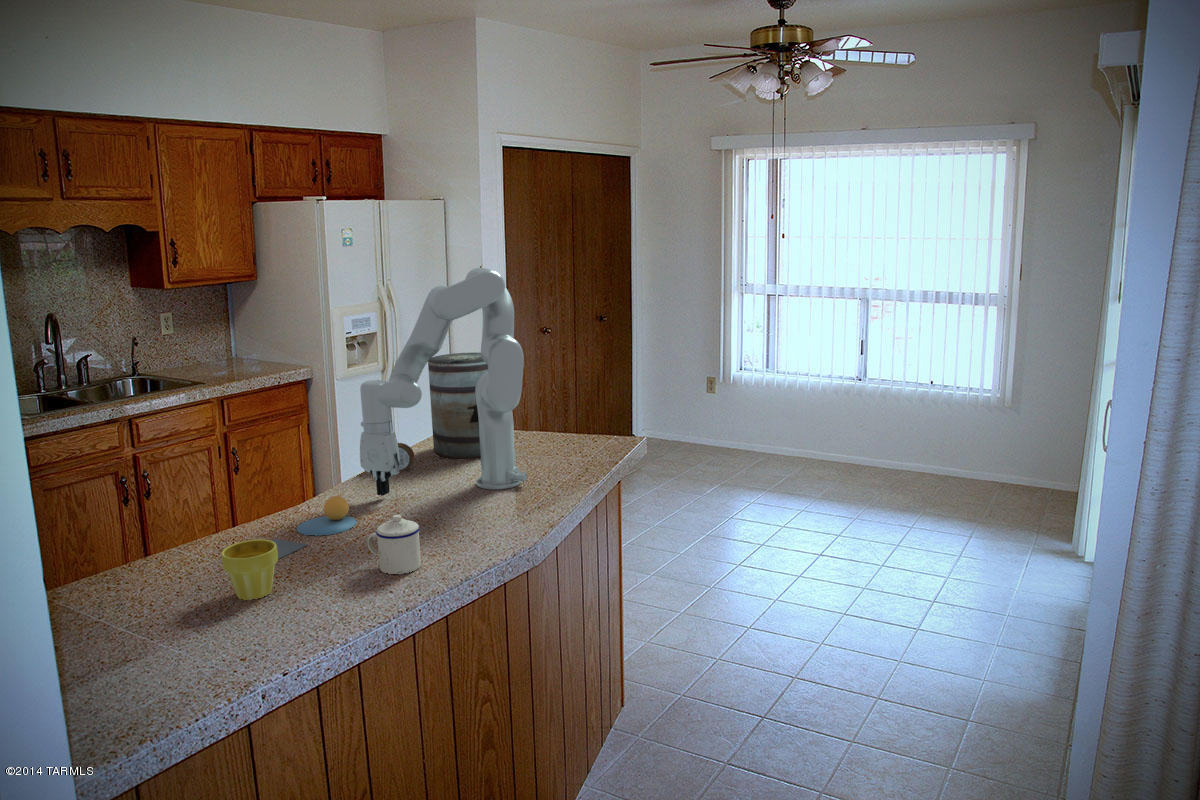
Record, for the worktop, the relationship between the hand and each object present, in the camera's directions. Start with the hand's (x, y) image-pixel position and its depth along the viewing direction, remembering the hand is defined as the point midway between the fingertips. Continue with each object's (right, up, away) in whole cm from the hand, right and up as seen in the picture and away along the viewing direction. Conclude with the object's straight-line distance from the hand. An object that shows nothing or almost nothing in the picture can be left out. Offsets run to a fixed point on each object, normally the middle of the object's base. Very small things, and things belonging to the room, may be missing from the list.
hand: (383, 493), depth 236 cm
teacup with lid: (+14, -11, -46) cm, 49 cm away
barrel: (+16, +9, +48) cm, 51 cm away
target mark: (-9, -6, -19) cm, 22 cm away
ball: (-8, -2, -15) cm, 17 cm away
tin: (-5, +4, +27) cm, 28 cm away
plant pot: (-12, -14, -58) cm, 61 cm away
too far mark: (-16, -9, -34) cm, 39 cm away
